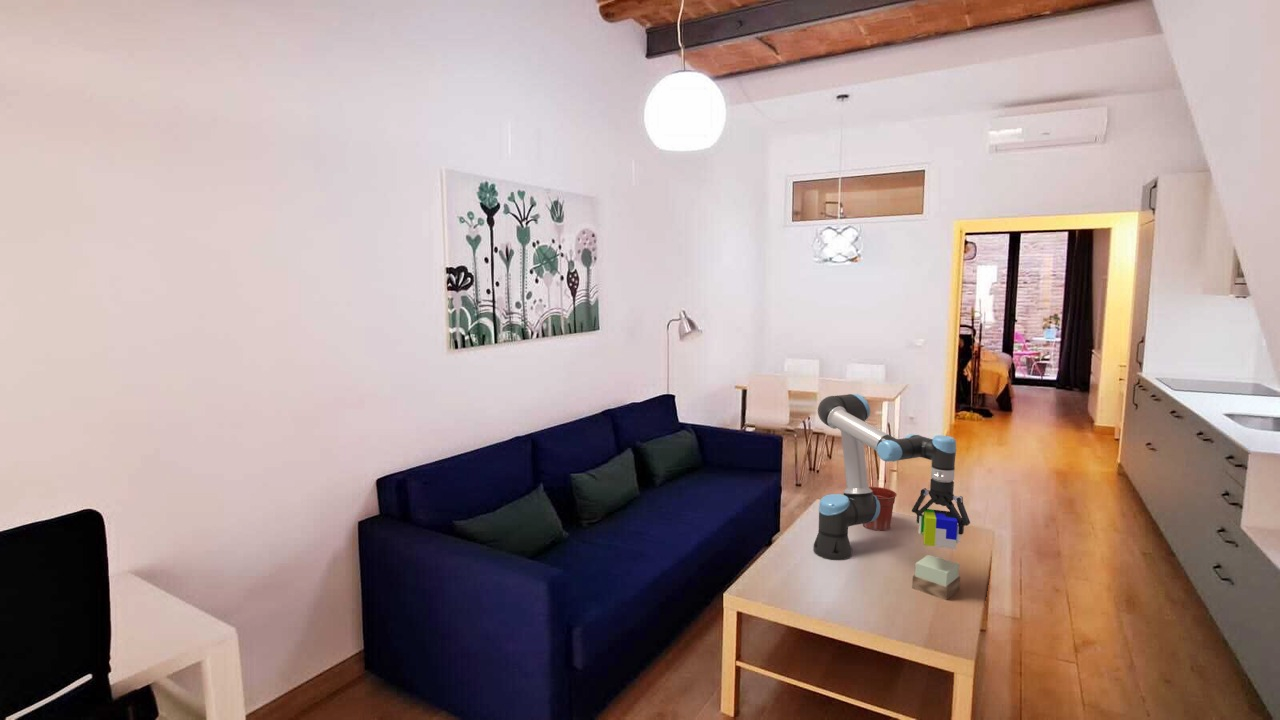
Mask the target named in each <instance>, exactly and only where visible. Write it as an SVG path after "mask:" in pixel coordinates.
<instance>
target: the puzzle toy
mask: <svg viewBox="0 0 1280 720" xmlns="http://www.w3.org/2000/svg"><path fill="white" fill-rule="evenodd" d="M923 515H924V517H923V532H922V533H921V534H922V538H923V539H922V540H923V545H924V546H929V547H936V548H945V549H952V550H957V544H956V537H957V525H958V523H957V519H956V518H954V517H953V515H952V514H951V512H950V510H940V509H931V508H927V509H926V510H924V512H923Z"/></svg>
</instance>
